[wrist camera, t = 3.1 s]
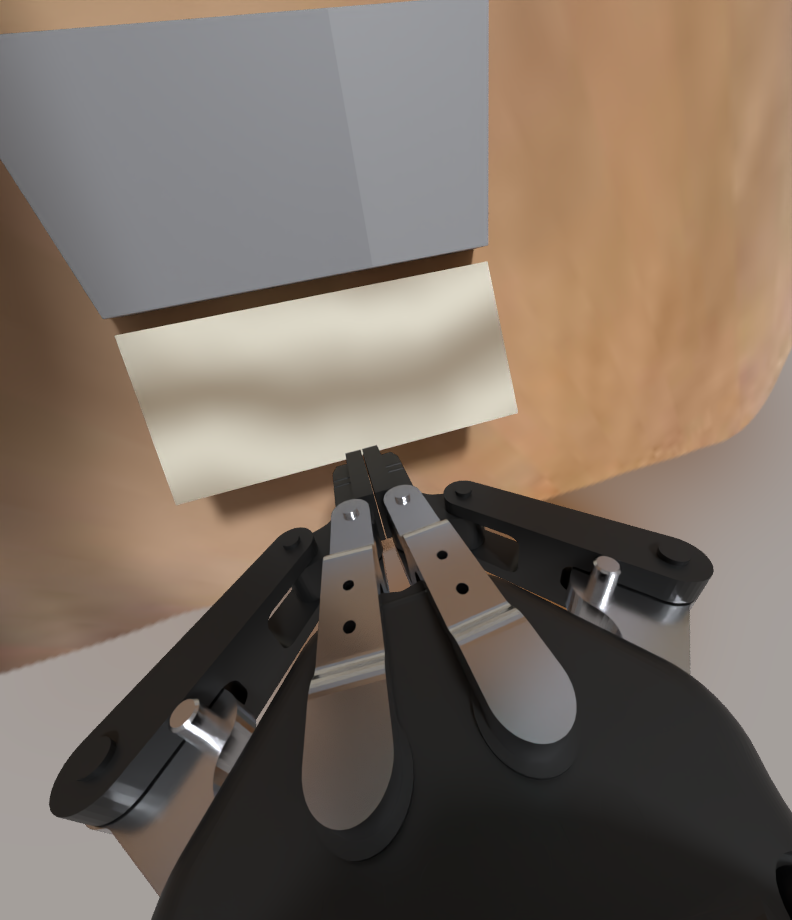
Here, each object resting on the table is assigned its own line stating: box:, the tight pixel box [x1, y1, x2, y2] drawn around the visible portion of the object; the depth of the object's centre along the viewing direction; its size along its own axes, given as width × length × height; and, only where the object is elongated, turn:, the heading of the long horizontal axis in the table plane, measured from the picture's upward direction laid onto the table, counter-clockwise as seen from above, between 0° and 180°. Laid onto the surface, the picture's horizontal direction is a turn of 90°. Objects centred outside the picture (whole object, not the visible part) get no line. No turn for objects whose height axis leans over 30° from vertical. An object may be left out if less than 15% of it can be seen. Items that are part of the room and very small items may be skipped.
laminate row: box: [0, 0, 488, 319], centre depth 12 cm, size 8×18×2 cm, turn 100°
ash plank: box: [115, 262, 518, 505], centre depth 15 cm, size 8×18×2 cm, turn 100°
